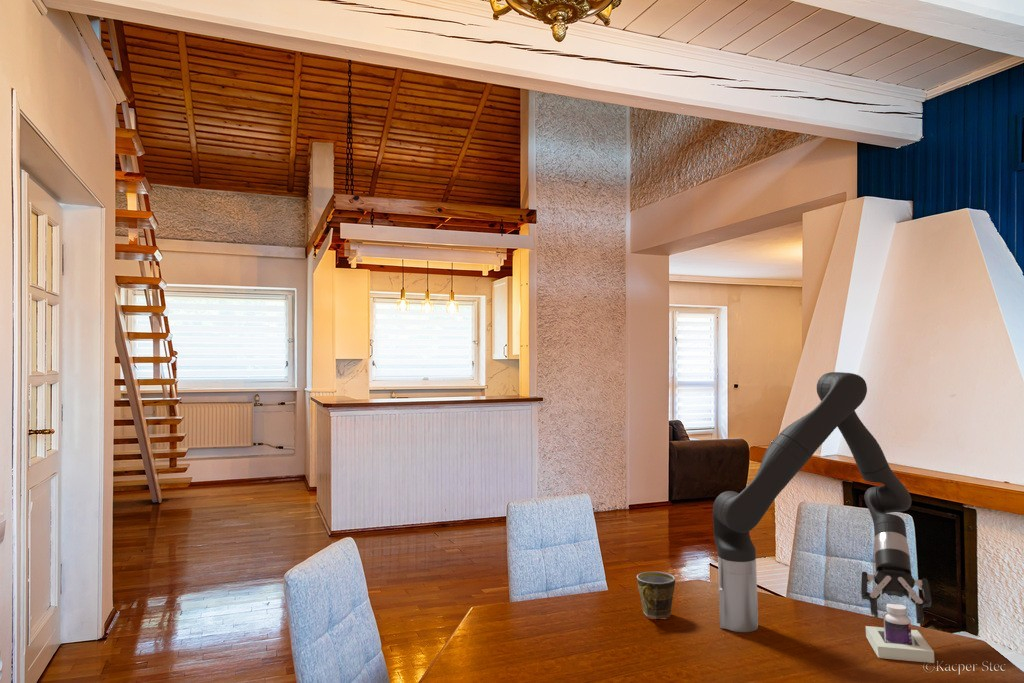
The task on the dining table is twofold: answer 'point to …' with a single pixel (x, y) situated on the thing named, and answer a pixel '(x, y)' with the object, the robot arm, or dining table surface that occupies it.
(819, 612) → the dining table surface
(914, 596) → the robot arm
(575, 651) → the dining table surface
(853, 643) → the dining table surface
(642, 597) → the ceramic cup
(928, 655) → the socket board
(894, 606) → the pill bottle
